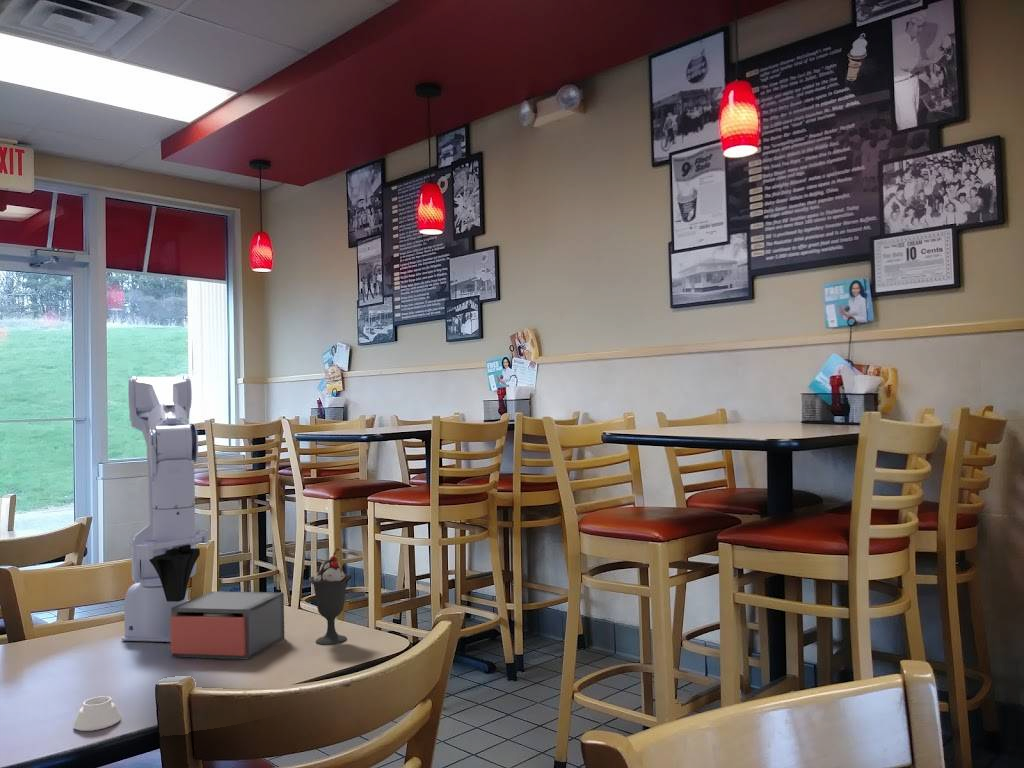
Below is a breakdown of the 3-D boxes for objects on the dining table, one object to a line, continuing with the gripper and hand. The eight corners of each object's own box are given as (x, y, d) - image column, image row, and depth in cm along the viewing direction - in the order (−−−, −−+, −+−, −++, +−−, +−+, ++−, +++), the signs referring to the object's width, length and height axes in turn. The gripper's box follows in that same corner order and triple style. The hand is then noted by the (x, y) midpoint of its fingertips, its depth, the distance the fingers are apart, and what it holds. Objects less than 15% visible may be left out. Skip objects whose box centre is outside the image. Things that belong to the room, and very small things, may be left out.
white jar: (122, 727, 95) (118, 714, 99) (122, 702, 95) (118, 690, 99) (74, 737, 92) (72, 723, 96) (74, 711, 92) (72, 699, 96)
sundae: (347, 646, 125) (345, 549, 125) (305, 647, 125) (303, 551, 125) (356, 634, 131) (354, 542, 132) (316, 635, 132) (314, 544, 132)
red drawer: (170, 653, 121) (170, 616, 121) (210, 633, 131) (210, 600, 132) (243, 655, 119) (242, 618, 119) (277, 635, 129) (277, 601, 129)
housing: (172, 656, 122) (171, 607, 122) (212, 636, 133) (211, 591, 133) (249, 659, 120) (248, 609, 120) (284, 638, 130) (283, 592, 131)
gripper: (167, 513, 109) (169, 613, 108) (226, 501, 123) (227, 589, 122) (122, 513, 110) (123, 612, 110) (184, 501, 124) (186, 588, 124)
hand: (175, 600), depth 116 cm, fingers closed
